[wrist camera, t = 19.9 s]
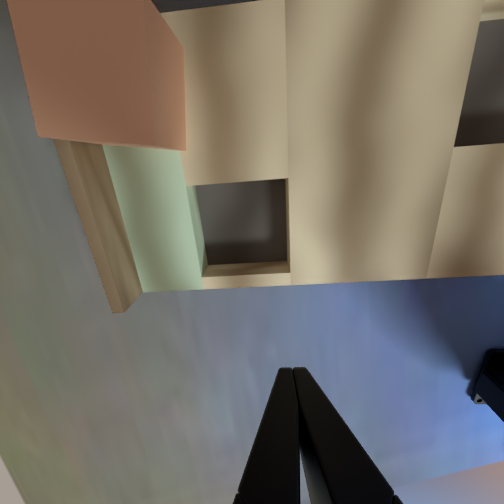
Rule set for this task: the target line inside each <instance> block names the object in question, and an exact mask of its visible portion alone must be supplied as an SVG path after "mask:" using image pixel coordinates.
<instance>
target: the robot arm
mask: <svg viewBox="0 0 504 504" xmlns="http://www.w3.org/2000/svg"><path fill="white" fill-rule="evenodd" d="M471 400H472V401H473V402H474V403H475V404H487V405H488V406H489V407H490V408H491V409H492V410H493V411H494V412H495V413H496V414H497V415H498V416H499V417H500V419H501V420H502V421H503V422H504V349H492V350H489V351H488V352H487V353H486V355H485V358H484V361H483V364H482V366H481V369H480V372H479V375H478V378H477V380H476V383H475V386H474V389H473V392H472V395H471ZM300 454H301V459H302V464H303V469H304V473H305V478H306V483H307V488H308V492H309V497H310V502H311V504H403V503H402V501H401V500H400V499H399V497H398V496H397V495H394V491H393V489H392V488H391V486H390V485H389V483H388V482H387V481H386V479H385V478H384V476H383V475H382V474H381V472H380V471H379V469H378V468H377V467H376V465H375V464H374V462H373V461H372V460H371V458H370V457H369V455H368V454H367V453H366V451H365V450H364V448H363V447H362V446H361V444H360V443H359V441H358V440H357V439H356V437H355V436H354V434H353V433H352V431H351V430H350V429H349V427H348V426H347V424H346V423H345V422H344V420H343V419H342V417H341V416H340V415H339V413H338V412H337V410H336V409H335V408H334V406H333V405H332V403H331V402H330V401H329V399H328V398H327V396H326V395H325V394H324V392H323V391H322V389H321V388H320V387H319V385H318V384H317V382H316V381H315V380H314V378H313V377H312V375H311V374H310V372H309V371H308V370H307V369H306V368H305V367H294V368H293V370H292V368H290V367H287V368H280V369H279V370H278V373H277V376H276V379H275V382H274V385H273V388H272V391H271V394H270V397H269V399H268V402H267V405H266V408H265V411H264V414H263V417H262V420H261V423H260V426H259V429H258V432H257V435H256V438H255V441H254V444H253V446H252V449H251V452H250V455H249V458H248V461H247V464H246V467H245V470H244V473H243V476H242V479H241V482H240V485H239V488H238V493H237V494H236V496H235V499H234V502H233V504H300Z"/></svg>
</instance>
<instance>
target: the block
mask: <svg viewBox="0 0 504 504" xmlns="http://www.w3.org/2000/svg"><path fill="white" fill-rule="evenodd" d="M7 4H8V8H9V13H10V17H11V21H12V26H13V30H14V34H15V39H16V43H17V47H18V52H19V56H20V60H21V65H22V69H23V73H24V78H25V82H26V86H27V91H28V95H29V99H30V104H31V108H32V112H33V117H34V121H35V125H36V130H37V134H38V137H45V138H53V139H62V140H70V141H78V142H86V143H94V144H102V145H114V146H127V147H140V148H153V149H166V150H179V151H186V117H185V78H184V48H183V47H182V45H181V44H180V42H179V41H178V39H177V38H176V36H175V35H174V33H173V32H172V30H171V29H170V27H169V26H168V24H167V23H166V21H165V20H164V19H163V17H162V16H161V14H160V13H159V11H158V10H157V8H156V7H155V5H154V4H153V2H152V1H151V0H7Z"/></svg>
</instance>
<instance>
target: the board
mask: <svg viewBox="0 0 504 504" xmlns="http://www.w3.org/2000/svg"><path fill="white" fill-rule="evenodd" d="M6 2H7V0H6ZM7 5H8V4H7ZM160 14H161V16H162V17H163V19H164V20H165V21H166V23H167V24H168V26H169V27H170V29H171V30H172V32H173V33H174V35H175V36H176V38H177V39H178V41H179V42H180V44H181V45H182V47H183V48H184V78H185V117H186V151H179V150H166V149H153V148H140V147H127V146H114V145H102V144H94V143H86V142H78V141H70V140H62V139H53V140H54V143H55V146H56V149H57V152H58V155H59V158H60V161H61V164H62V167H63V170H64V173H65V175H66V178H67V181H68V184H69V187H70V190H71V193H72V196H73V199H74V202H75V205H76V208H77V211H78V214H79V217H80V219H81V222H82V225H83V228H84V231H85V234H86V237H87V240H88V243H89V246H90V249H91V252H92V255H93V258H94V260H95V263H96V266H97V269H98V272H99V275H100V278H101V281H102V284H103V287H104V290H105V293H106V296H107V299H108V302H109V304H110V307H111V310H112V313H124V312H125V311H126V310H127V309H128V308H129V307H130V306H131V305H132V303H133V302H134V301H135V300H136V299H137V298H138V297H139V296H140V295H141V294H142V293H143V292H158V291H179V290H200V289H221V288H241V287H262V286H283V285H304V284H325V283H346V282H367V281H388V280H408V279H429V278H450V277H471V276H492V275H504V0H259V1H251V2H243V3H236V4H228V5H220V6H212V7H204V8H196V9H189V10H181V11H173V12H165V13H160Z"/></svg>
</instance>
